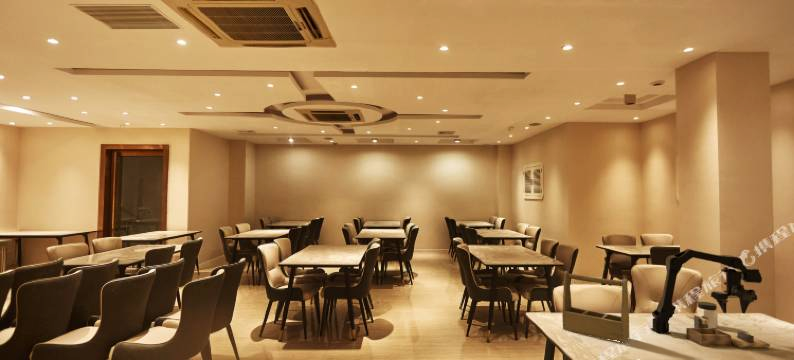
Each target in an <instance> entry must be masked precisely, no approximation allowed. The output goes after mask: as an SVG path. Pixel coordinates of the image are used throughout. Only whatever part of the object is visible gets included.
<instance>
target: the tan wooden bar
mask: <svg viewBox="0 0 794 360" xmlns="http://www.w3.org/2000/svg"><path fill="white" fill-rule="evenodd" d="M694 316H697V314H694V313H692V312H685V317H687V318H689V319H692V320H693V321H694ZM697 317H700V316H697ZM700 323H702V324H709V320H707V319H705V318H702V317H700Z"/></svg>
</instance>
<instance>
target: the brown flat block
mask: <svg viewBox="0 0 794 360" xmlns="http://www.w3.org/2000/svg"><path fill="white" fill-rule="evenodd" d="M685 331H686V333H685V335H686V337H685V338H686V339H688V340H690V341H692V343H695V344H697V345H699V346H701V347H732V345H731V336H732V335H731V334H729V333H727V332H725V331H722V330H720V329H717V328H694V327H686V330H685Z"/></svg>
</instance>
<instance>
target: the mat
mask: <svg viewBox="0 0 794 360" xmlns="http://www.w3.org/2000/svg"><path fill="white" fill-rule="evenodd" d="M731 346H734V347H736V348H738V349H740V350H770V348H769V347H764V348H761V347H738V346H736V345H734V344H732V343H731Z"/></svg>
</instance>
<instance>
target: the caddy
mask: <svg viewBox="0 0 794 360" xmlns="http://www.w3.org/2000/svg"><path fill="white" fill-rule="evenodd" d="M570 279H571V280H575V281H576V280H577V281H581V282H589V283H597V284H602V285H609V286H615V287H616V286H617V287H621V313H620V315H616V314H611V313H604V312H601V311H600V312H599V311H596V310H595V311H594V310H591V309H590V310H589V309H584V308H580V307H575V306H572V294H571V283H570V281H571V280H570ZM628 289H629V288H628V279H627V278H623V279H622V280H616V279H610V278H609V279H608V278H603V277H602V278H599V277H592V276H587V275H581V274H575V273H570V272H569V271H567V270H565V271H564V274H563V292H562V293H563V294H562V312H561V313H562V318H561V319H562V330H565V331H567V330H568V332H572V333H576V334H581V335H584V336H585V335H586V336H589V335H590V337H593V336H594V338H597V337H599V338H598V339H602V338H603V340H606V339H610V340H617V341H620V342H623V343H624V344H626V342H627V341H628V340H629V339H630V311H629V310H630V309H629V308H630V307H629V291H628ZM628 338H629V339H628ZM627 339H628V340H627ZM610 340H609V341H610ZM626 340H627V341H626ZM623 343H622V344H623Z"/></svg>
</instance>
